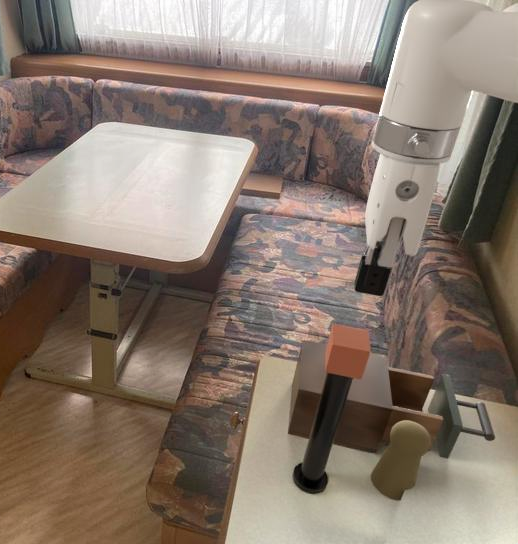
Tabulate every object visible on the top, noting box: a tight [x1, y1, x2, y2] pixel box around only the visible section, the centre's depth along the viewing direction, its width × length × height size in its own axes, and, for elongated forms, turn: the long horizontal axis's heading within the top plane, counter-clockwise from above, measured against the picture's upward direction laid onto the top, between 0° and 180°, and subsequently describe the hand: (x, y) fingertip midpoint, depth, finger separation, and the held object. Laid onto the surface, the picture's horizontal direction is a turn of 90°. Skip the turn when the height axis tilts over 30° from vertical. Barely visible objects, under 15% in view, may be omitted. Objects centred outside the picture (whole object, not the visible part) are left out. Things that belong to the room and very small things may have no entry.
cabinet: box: [287, 339, 393, 455], centre depth 93 cm, size 14×13×10 cm
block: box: [325, 323, 371, 380], centre depth 71 cm, size 4×4×4 cm
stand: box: [292, 373, 353, 495], centre depth 78 cm, size 5×5×22 cm
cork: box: [370, 420, 431, 501], centre depth 82 cm, size 6×6×11 cm
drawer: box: [380, 366, 496, 460], centre depth 90 cm, size 18×11×8 cm, turn 75°
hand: (368, 290), depth 67 cm, fingers closed
